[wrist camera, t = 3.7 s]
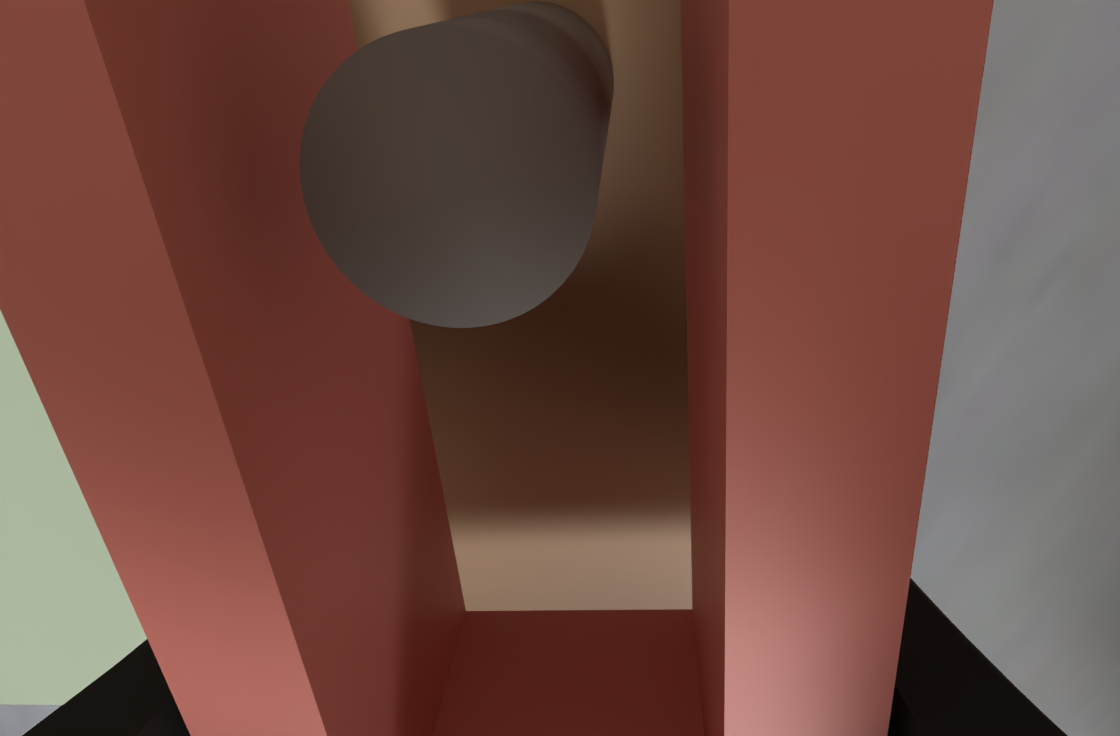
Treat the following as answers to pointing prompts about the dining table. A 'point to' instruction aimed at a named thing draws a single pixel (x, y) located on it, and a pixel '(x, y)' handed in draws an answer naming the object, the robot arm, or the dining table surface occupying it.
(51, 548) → the mat
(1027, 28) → the dining table surface
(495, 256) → the stand
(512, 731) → the c link
